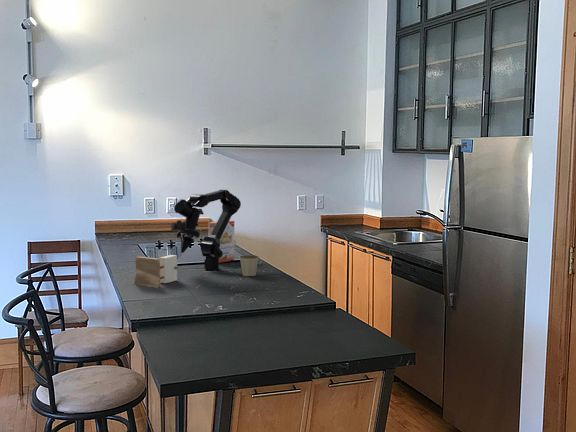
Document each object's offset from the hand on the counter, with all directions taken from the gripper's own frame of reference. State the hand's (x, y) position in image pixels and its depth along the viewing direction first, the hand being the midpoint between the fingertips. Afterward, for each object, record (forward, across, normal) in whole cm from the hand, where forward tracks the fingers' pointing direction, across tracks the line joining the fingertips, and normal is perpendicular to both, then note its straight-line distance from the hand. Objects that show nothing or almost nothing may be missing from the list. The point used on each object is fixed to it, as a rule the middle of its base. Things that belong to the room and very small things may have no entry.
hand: (182, 252), depth 293 cm
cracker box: (-6, -30, +30) cm, 42 cm away
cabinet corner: (+17, +6, -9) cm, 20 cm away
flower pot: (+2, +8, +32) cm, 33 cm away
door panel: (+15, +7, -4) cm, 17 cm away
